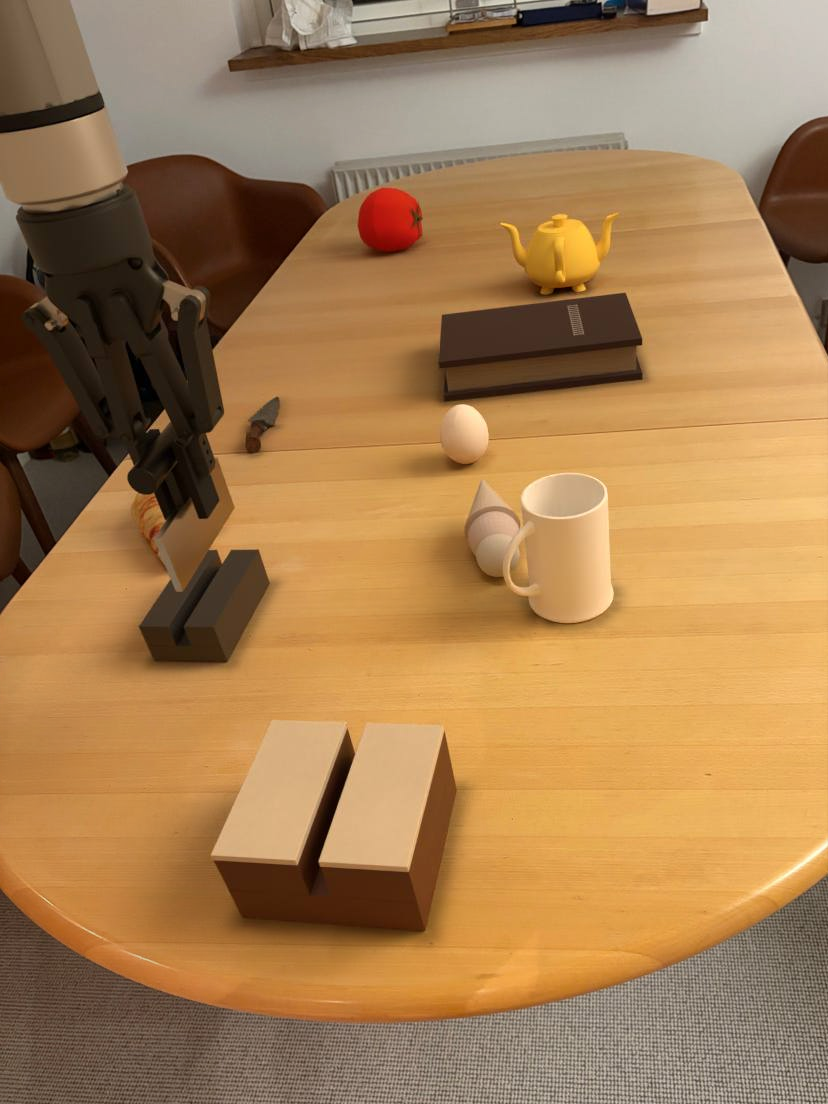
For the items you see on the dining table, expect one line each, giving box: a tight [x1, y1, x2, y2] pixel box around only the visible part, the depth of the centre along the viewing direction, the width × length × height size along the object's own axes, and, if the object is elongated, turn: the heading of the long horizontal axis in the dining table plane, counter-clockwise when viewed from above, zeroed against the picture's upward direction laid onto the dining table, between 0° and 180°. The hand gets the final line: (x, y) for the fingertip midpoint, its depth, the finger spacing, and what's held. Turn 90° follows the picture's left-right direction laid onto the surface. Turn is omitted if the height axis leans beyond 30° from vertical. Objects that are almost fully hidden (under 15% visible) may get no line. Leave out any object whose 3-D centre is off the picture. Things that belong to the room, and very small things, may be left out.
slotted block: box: [138, 549, 271, 663], centre depth 95 cm, size 8×13×4 cm, turn 171°
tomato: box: [357, 187, 423, 253], centre depth 183 cm, size 13×13×13 cm
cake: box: [210, 719, 458, 932], centre depth 68 cm, size 14×13×8 cm
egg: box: [439, 403, 490, 465], centre depth 113 cm, size 6×6×8 cm
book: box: [438, 292, 643, 402], centre depth 134 cm, size 28×20×6 cm
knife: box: [244, 396, 281, 454], centre depth 130 cm, size 17×2×5 cm
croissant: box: [130, 492, 166, 566], centre depth 110 cm, size 21×10×8 cm, turn 10°
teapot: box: [500, 211, 621, 295], centre depth 155 cm, size 20×15×12 cm
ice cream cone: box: [463, 478, 522, 578], centre depth 98 cm, size 6×6×15 cm
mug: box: [503, 472, 615, 624], centre depth 87 cm, size 12×8×12 cm
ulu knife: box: [126, 420, 236, 592], centre depth 72 cm, size 2×12×10 cm, turn 172°
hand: (192, 509), depth 73 cm, fingers closed on ulu knife, 2 cm apart
